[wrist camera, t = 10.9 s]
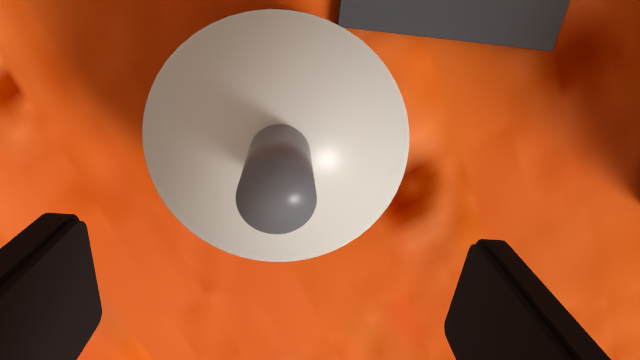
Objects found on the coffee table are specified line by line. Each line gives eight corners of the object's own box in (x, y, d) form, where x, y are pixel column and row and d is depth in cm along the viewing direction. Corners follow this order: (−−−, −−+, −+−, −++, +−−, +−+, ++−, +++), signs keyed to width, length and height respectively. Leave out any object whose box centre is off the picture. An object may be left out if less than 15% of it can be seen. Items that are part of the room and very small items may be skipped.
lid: (139, -7, 16) (57, -19, 10) (426, 25, 17) (491, 30, 12) (160, 244, 21) (113, 327, 16) (380, 254, 23) (410, 333, 17)
